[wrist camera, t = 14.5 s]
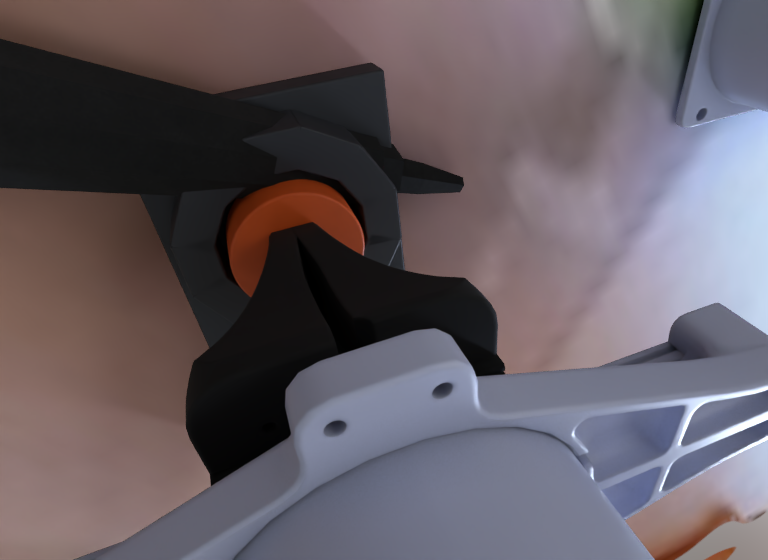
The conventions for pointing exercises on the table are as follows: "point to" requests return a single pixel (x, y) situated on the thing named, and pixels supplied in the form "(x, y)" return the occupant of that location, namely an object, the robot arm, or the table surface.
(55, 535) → the table surface
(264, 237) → the power button
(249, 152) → the microphone
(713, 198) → the table surface
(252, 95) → the adapter
